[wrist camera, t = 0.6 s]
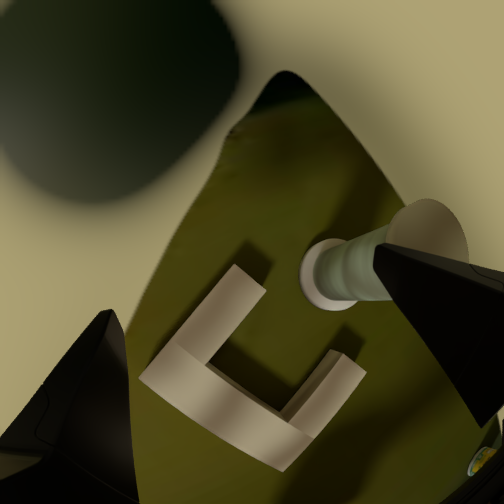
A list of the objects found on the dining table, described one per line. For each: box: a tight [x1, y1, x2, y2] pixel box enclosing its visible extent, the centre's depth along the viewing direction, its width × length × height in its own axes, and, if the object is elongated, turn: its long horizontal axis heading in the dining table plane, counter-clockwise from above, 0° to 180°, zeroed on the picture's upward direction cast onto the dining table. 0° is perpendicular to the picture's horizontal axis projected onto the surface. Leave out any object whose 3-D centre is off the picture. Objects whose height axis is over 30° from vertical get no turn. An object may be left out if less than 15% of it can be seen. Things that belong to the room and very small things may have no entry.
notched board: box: [139, 264, 367, 472], centre depth 21 cm, size 14×11×2 cm
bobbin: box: [298, 199, 469, 311], centre depth 18 cm, size 6×6×13 cm
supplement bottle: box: [468, 447, 497, 476], centre depth 20 cm, size 5×5×10 cm
